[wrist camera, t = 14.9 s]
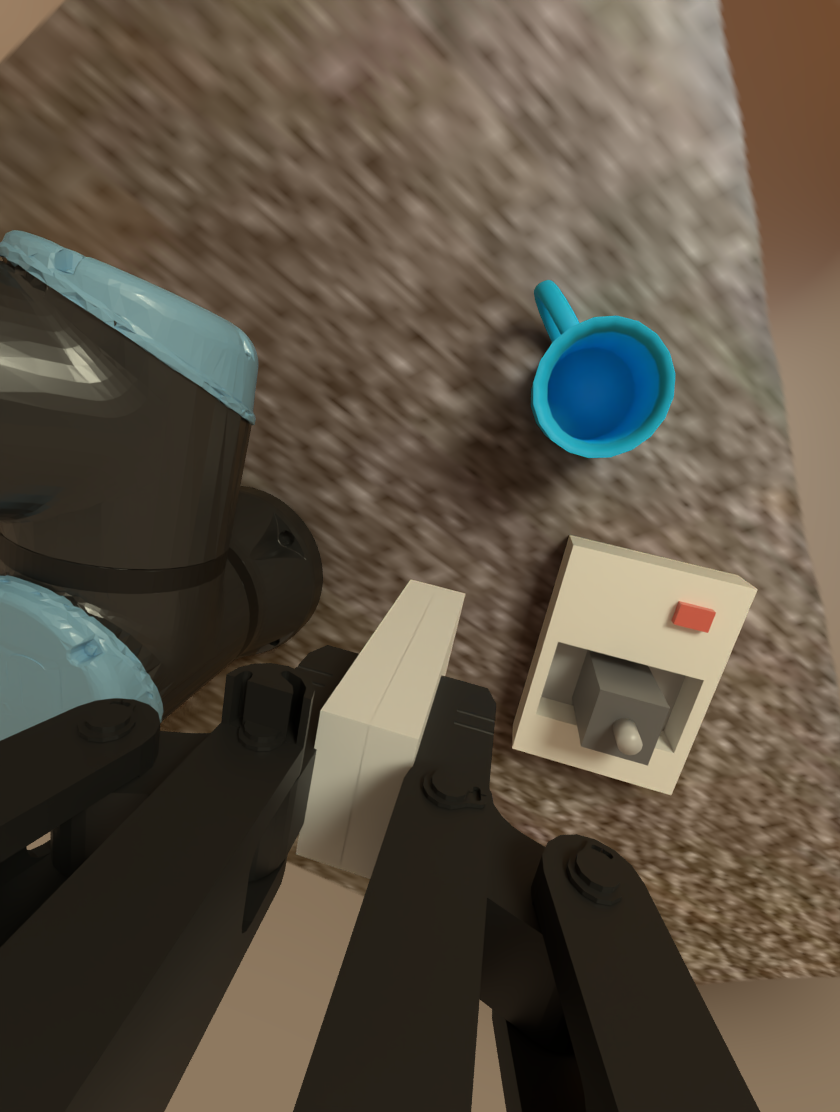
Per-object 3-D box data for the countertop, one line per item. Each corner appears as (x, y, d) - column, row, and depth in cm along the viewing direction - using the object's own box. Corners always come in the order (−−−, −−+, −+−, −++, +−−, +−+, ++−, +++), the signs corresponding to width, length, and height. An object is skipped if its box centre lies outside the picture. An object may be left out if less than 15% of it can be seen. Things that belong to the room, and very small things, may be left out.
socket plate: (512, 725, 47) (512, 753, 43) (569, 534, 42) (574, 547, 38) (660, 767, 45) (673, 801, 41) (737, 575, 40) (761, 592, 36)
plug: (588, 648, 43) (604, 704, 35) (647, 663, 43) (678, 724, 34) (571, 697, 45) (583, 763, 36) (628, 713, 44) (654, 784, 36)
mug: (663, 416, 38) (698, 415, 31) (559, 469, 41) (568, 482, 33) (591, 263, 37) (609, 221, 29) (488, 328, 39) (479, 305, 31)
